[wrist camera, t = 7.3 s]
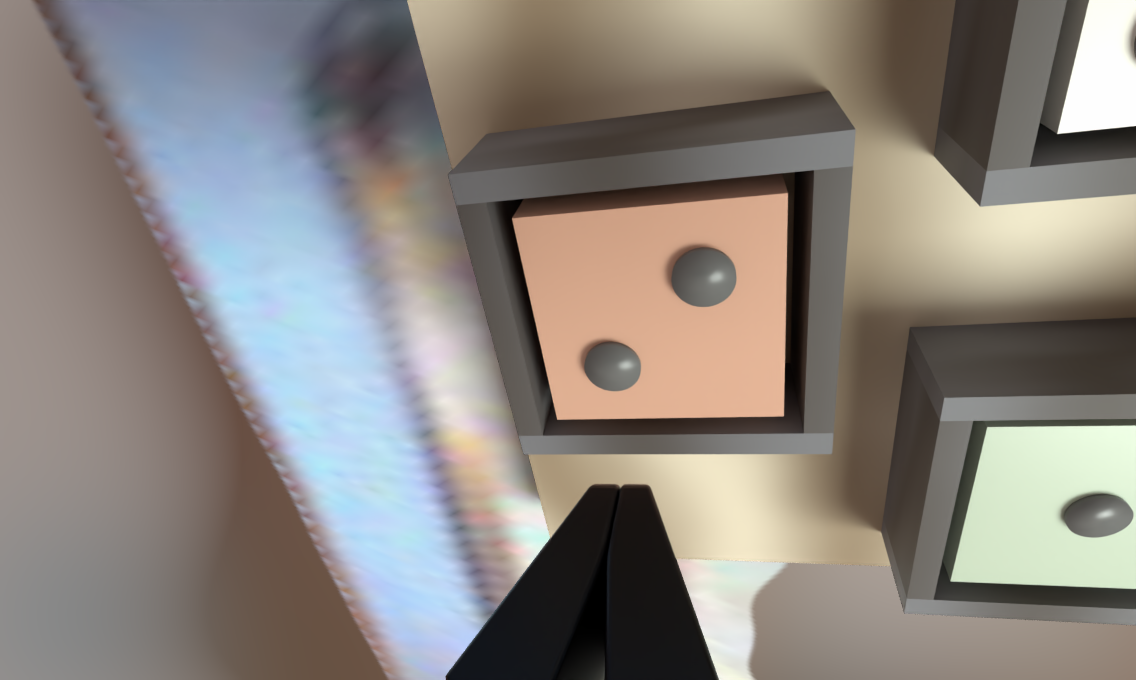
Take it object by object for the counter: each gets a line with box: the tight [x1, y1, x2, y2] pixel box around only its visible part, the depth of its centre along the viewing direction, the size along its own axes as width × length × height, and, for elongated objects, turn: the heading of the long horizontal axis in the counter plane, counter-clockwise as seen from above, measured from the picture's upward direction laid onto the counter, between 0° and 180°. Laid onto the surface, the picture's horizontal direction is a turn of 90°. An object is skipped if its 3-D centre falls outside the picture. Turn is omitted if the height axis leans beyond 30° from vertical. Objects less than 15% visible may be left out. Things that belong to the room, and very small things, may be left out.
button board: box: [407, 0, 1136, 625], centre depth 14 cm, size 18×21×5 cm
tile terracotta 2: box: [512, 173, 788, 420], centre depth 14 cm, size 5×5×2 cm
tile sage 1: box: [942, 419, 1136, 589], centre depth 15 cm, size 5×5×2 cm
